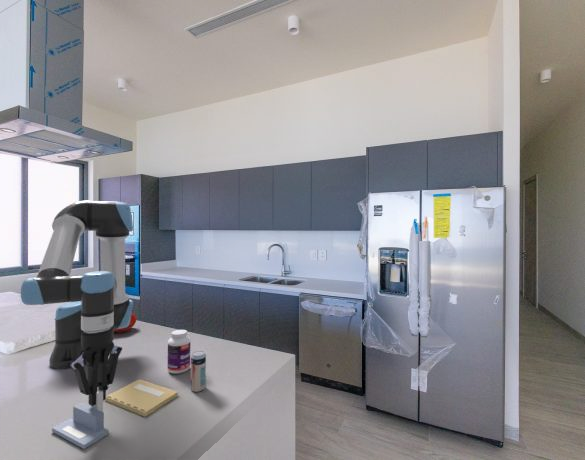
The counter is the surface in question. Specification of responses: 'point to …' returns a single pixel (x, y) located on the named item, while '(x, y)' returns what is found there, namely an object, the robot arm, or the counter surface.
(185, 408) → the counter surface
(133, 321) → the red rounded piece
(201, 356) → the beer can
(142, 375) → the counter surface
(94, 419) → the stub
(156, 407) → the tan notebook
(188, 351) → the pill bottle
